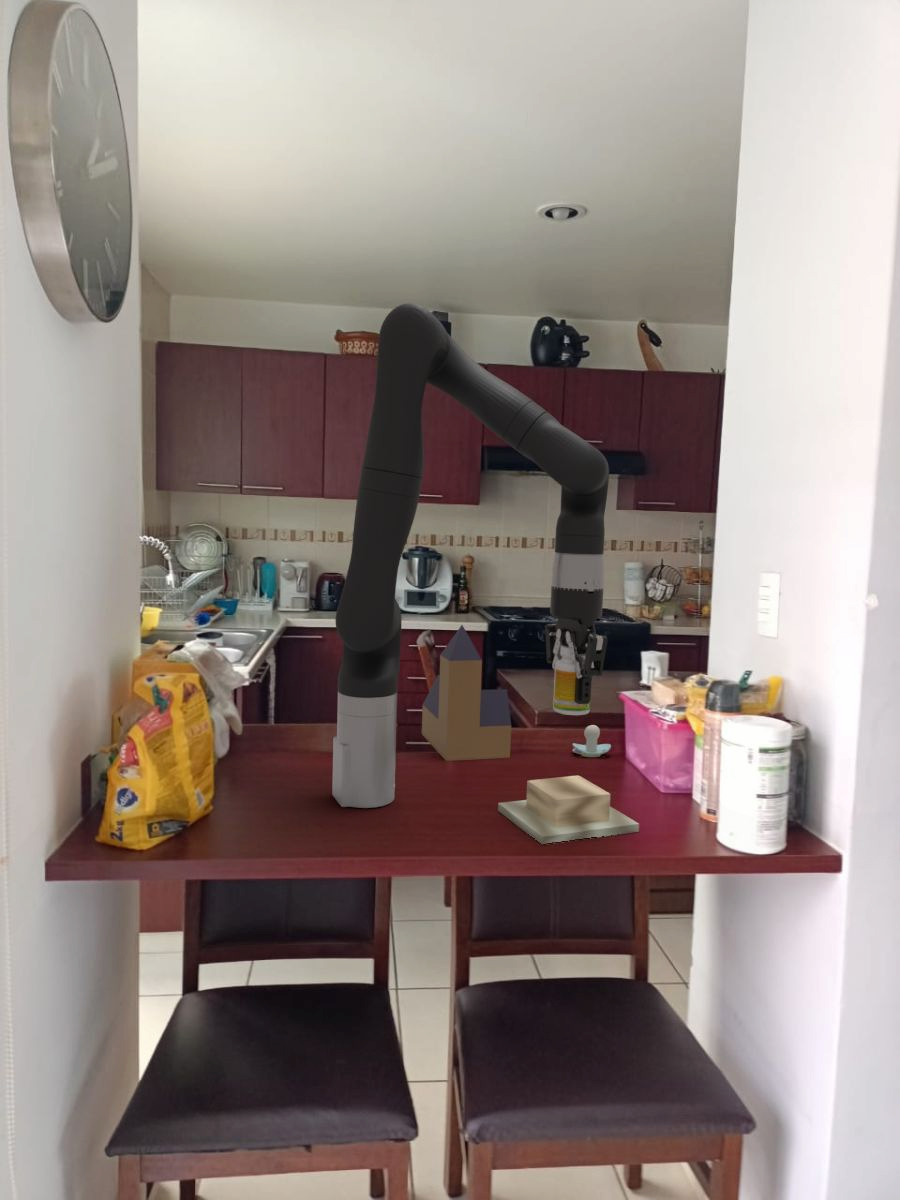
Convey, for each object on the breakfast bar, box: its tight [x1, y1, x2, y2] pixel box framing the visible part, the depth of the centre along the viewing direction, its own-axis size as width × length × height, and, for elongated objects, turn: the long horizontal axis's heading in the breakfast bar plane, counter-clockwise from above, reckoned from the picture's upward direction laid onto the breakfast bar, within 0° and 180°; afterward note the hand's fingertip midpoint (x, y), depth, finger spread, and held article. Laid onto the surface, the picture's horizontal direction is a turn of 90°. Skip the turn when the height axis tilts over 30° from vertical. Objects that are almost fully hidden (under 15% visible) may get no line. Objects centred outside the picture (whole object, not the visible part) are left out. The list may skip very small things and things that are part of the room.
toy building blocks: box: [421, 624, 512, 762], centre depth 161 cm, size 12×19×25 cm
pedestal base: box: [497, 775, 640, 845], centre depth 123 cm, size 16×14×5 cm
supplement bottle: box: [552, 645, 591, 716], centre depth 121 cm, size 5×5×10 cm
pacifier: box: [572, 724, 612, 758], centre depth 159 cm, size 7×6×6 cm
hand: (571, 698), depth 122 cm, fingers closed on supplement bottle, 5 cm apart
